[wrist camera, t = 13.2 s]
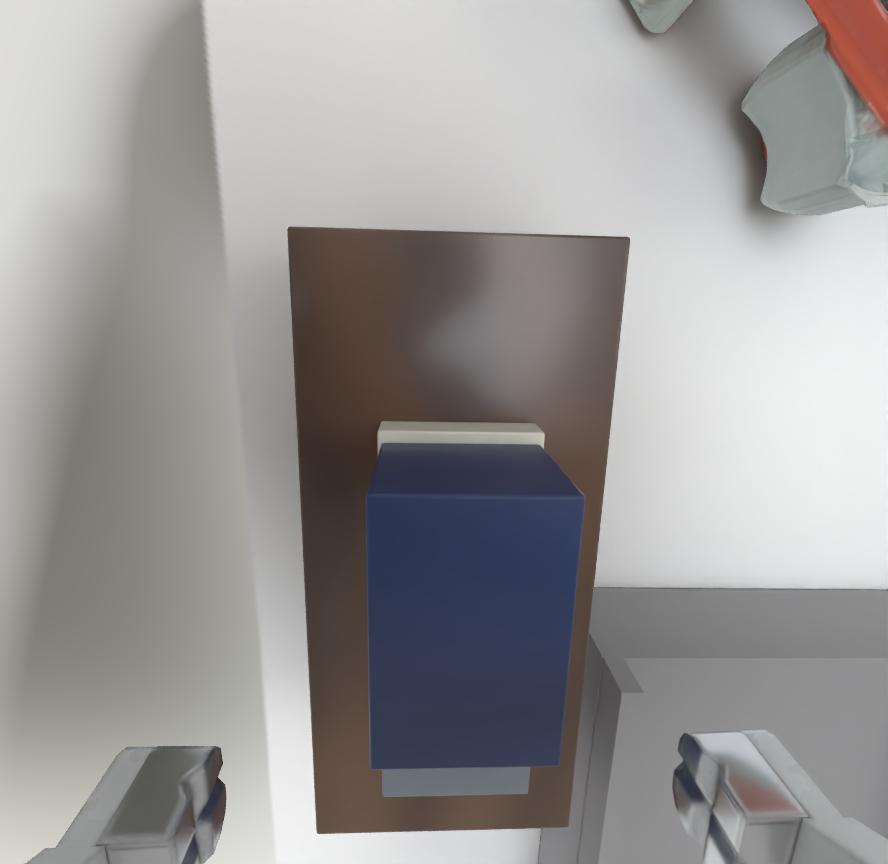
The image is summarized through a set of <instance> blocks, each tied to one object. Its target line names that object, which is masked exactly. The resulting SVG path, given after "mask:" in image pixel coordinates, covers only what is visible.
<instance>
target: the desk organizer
mask: <svg viewBox="0 0 888 864" xmlns="http://www.w3.org/2000/svg"><path fill="white" fill-rule="evenodd" d="M744 730H767V731H769V732H770V733H772V734H773V735H774V736H775V737H776V738H777V739H778V740H779V741H780V743H781V744H782V745H783V746H784V747H785V749H786V750H787V751H788V752H789V753H790V754H791V756H792V757H793V758H794V759H795V760H796V762H797V763H798V764H799V765H800V766H801V768H802V769H803V770H804V771H805V772H806V773H807V775H808V776H809V777H810V778H811V779H812V781H813V782H814V783H815V784H816V785H817V787H818V788H819V789H820V790H821V791H822V792H823V794H824V795H825V796H826V797H827V798H828V800H829V801H830V802H831V803H832V804H833V806H834V807H835V808H836V809H837V810H838V811H839V813H840V814H841V815H842V816H843V817H853V818H854V819H856V820H858V821H859V822H861V823H862V824H864V825H865V826H867V827H869V828H870V829H872V830H873V831H875V832H876V833H878V834H879V835H881V836H883V837H884V838H886V839H887V840H888V590H825V589H694V588H594V589H593V598H592V608H591V617H590V627H589V636H588V646H587V656H586V665H585V675H584V684H583V694H582V703H581V713H580V722H579V732H578V742H577V751H576V761H575V770H574V780H573V789H572V799H571V808H570V818H569V826H568V827H565V828H541V838H540V848H539V858H538V864H703V863H702V859H703V850H704V848H703V847H702V846H701V845H700V844H699V843H698V842H696V841H695V840H694V839H693V838H692V837H690V836H689V835H688V834H687V832H686V830H685V828H684V826H683V824H682V822H681V820H680V818H679V815H678V812H677V809H676V806H675V802H674V796H673V789H672V782H673V774H674V770H675V769H676V768H677V766H678V765H679V764H680V763H681V762H682V761H683V759H682V757H681V755H680V754H679V752H678V744H679V739H680V737H681V736H682V735H683V734H684V733H690V732H715V731H744Z"/></svg>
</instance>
